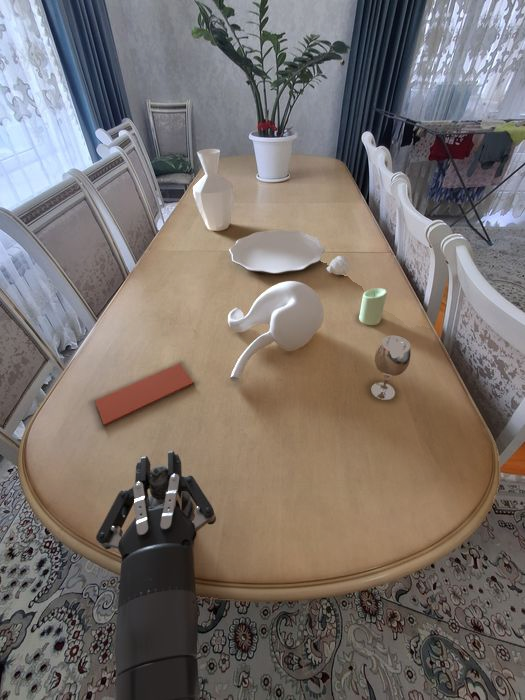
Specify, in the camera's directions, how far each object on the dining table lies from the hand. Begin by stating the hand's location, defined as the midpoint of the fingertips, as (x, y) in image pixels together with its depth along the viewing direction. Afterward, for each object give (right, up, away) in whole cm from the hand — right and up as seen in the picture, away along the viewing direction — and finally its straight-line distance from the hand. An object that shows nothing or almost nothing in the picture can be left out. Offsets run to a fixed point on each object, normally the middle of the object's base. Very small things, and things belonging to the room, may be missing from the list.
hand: (158, 457), depth 47 cm
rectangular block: (-9, +6, +22) cm, 25 cm away
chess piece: (+1, -9, +5) cm, 11 cm away
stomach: (+17, +16, +32) cm, 40 cm away
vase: (-3, +61, +84) cm, 104 cm away
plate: (+19, +44, +64) cm, 80 cm away
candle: (+40, +22, +37) cm, 59 cm away
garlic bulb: (+35, +36, +53) cm, 73 cm away
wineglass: (+37, +6, +20) cm, 43 cm away
